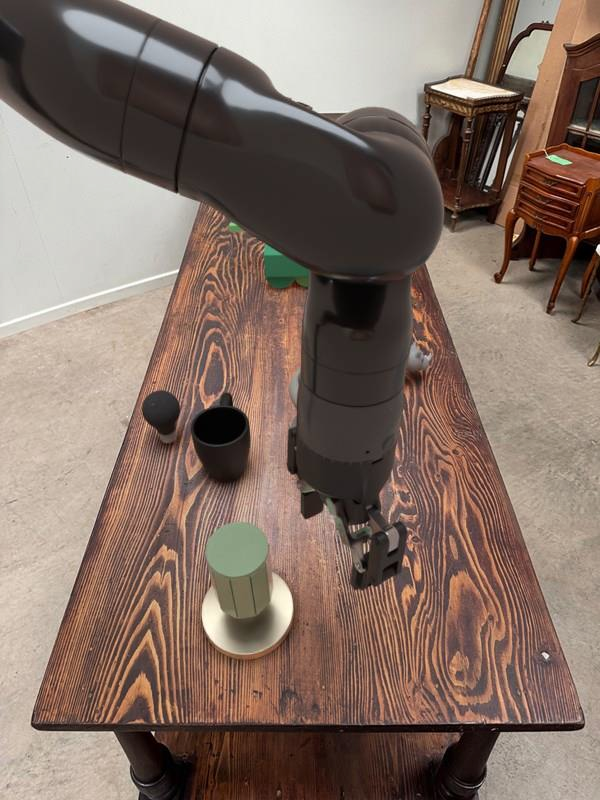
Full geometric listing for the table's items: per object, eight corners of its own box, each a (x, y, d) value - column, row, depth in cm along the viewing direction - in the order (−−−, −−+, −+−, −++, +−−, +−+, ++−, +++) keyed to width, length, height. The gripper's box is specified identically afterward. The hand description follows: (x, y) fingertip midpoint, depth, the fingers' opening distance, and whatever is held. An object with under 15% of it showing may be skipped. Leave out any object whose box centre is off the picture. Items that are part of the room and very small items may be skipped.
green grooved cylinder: (229, 629, 58) (219, 588, 52) (208, 578, 62) (196, 535, 56) (282, 602, 60) (279, 560, 54) (258, 555, 65) (252, 511, 58)
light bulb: (180, 456, 84) (169, 409, 77) (146, 452, 84) (132, 406, 78) (191, 430, 88) (181, 384, 81) (158, 426, 88) (146, 380, 82)
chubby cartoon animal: (433, 392, 94) (441, 353, 88) (366, 397, 93) (369, 359, 87) (422, 365, 99) (429, 327, 93) (358, 371, 98) (361, 333, 92)
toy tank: (232, 203, 123) (385, 201, 123) (237, 253, 132) (380, 251, 131) (224, 239, 110) (395, 236, 110) (230, 291, 119) (389, 289, 118)
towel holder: (222, 678, 60) (205, 621, 50) (190, 595, 67) (170, 531, 57) (309, 632, 63) (309, 571, 54) (270, 558, 71) (263, 492, 61)
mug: (259, 431, 87) (255, 388, 81) (250, 491, 79) (245, 447, 72) (209, 430, 88) (201, 386, 81) (194, 489, 79) (184, 445, 72)
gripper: (257, 382, 42) (264, 508, 53) (362, 511, 33) (344, 632, 44) (337, 354, 45) (328, 479, 56) (453, 465, 36) (416, 589, 47)
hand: (335, 546), depth 50 cm, fingers open, 8 cm apart
